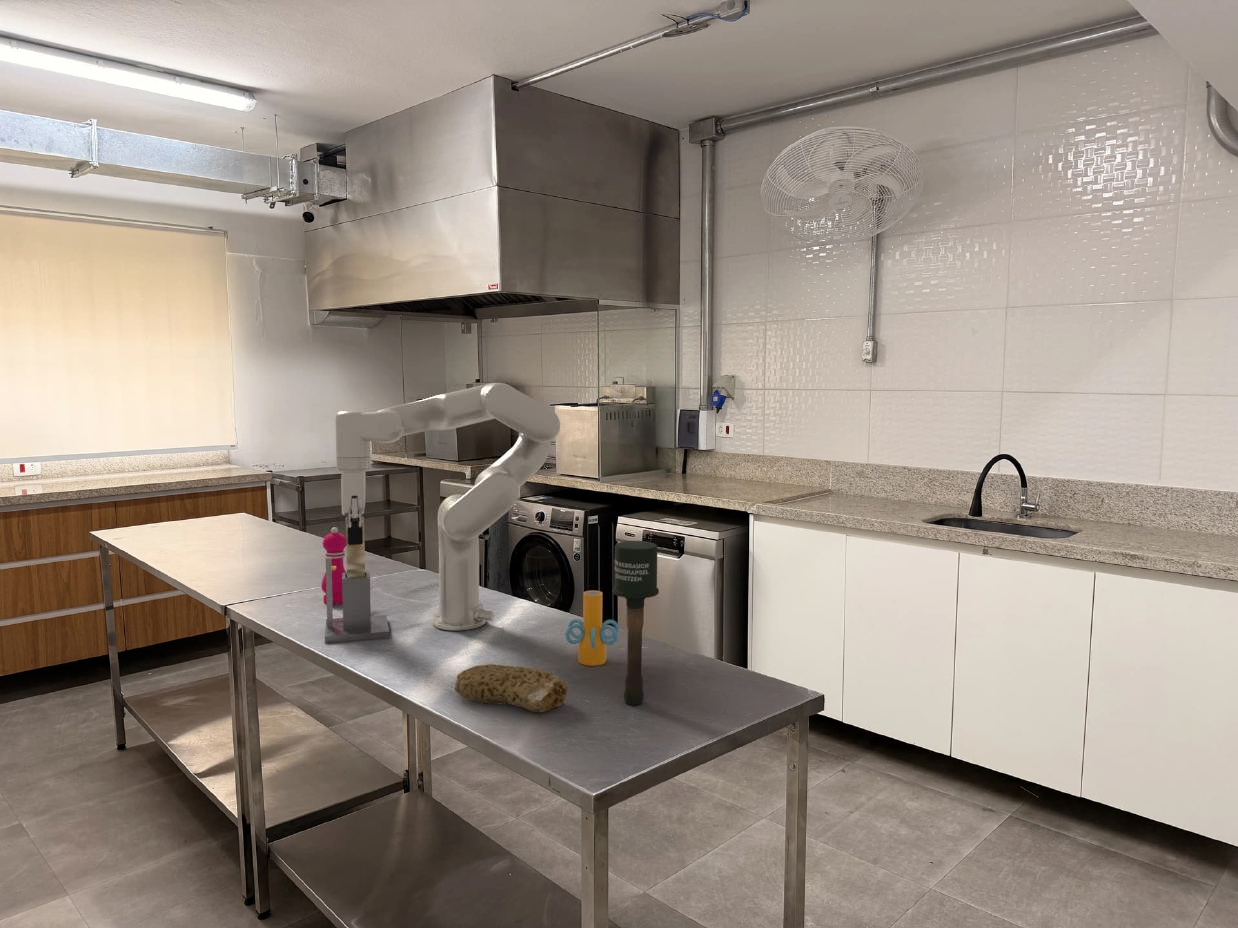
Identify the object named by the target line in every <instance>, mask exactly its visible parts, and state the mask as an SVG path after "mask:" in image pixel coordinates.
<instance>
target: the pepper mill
mask: <svg viewBox="0 0 1238 928" xmlns="http://www.w3.org/2000/svg"><path fill="white" fill-rule="evenodd" d="M330 532H331V533H329V534H326V536H324V538H323V541H322V547H323V548H324V550H325V552H324V554H325V555H324V557H325V558H326V557H331V566H336V570H332V605H340V604H342V605H343V592H342V573H347V570H346V568H345V567H344V566H345V565H344V557H345V556H346V554H345V553H346V551H345V549H346V535H344V534H342V533H340V532H339V529H338V527H335V526H334V527H332V528H331V529H330ZM320 588H321V590H322V592H323V593H324V595H323V603H324V604H326V605H327V595H326V571H325V573H324V575H323V578H322V580H321V587H320Z"/></svg>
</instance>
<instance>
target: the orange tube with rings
mask: <svg viewBox="0 0 1238 928" xmlns="http://www.w3.org/2000/svg"><path fill="white" fill-rule="evenodd" d="M582 602H583V604H582V605H583V607H582V608H583V613H582V614H583V619H582V620H581V619H579V618H573V619H572V620H570V621H569V623H568V627H567V628H566V632H565V638H566V641H567V643H570V644H571V645H577V644H578V646H577V648H578V649H577V650H578V652H577V653H578V657H577V658H578V663H579V664H581V665H583V666H590V667H595V666H601V665H604V664H605V663H606V662H607V645H608V646H612V645H615V643H616V642H617V641H618V639H619V638H618V632H619V624H618V622H617V621H615V620H614V619H607V620H605V621H603V592H602V591H600V590H586V591H583V601H582ZM610 624H612V625H610ZM613 626H614V627H613ZM574 629H578V630H579V631H580V634H576V633H575V632H574V631H573V630H574ZM607 629H608V630H610V631H611V632H612V634H610V635H607V634H606V633H605V630H607ZM570 637H572V638H574V639H575V640H573V639H571V638H570Z"/></svg>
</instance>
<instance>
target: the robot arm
mask: <svg viewBox="0 0 1238 928" xmlns="http://www.w3.org/2000/svg"><path fill="white" fill-rule="evenodd" d="M494 419H496V420H497V421H498V422H500V423H501V424H503V425H505V426H507V427H509V428H511V429H512V430H514V431H516V432H518V438H517V440H516V442H515V443H514V445H513V446H512V447H511V448H510V449H509V450H508V451H506V452H505V453H504V454H503V455H502V456H501V457H500V458H498V459H497V460H496V461H495V462H493V463H492V464H491V465H489V466H488V467H486V468H485V469H484V470H483V471H482V472H480V473H479V474H478V475H477V477H476V478H475V481H474V486H473V487H472V488H471V489H470V490H468V491H467V492H466V493H465V494H459V493H457V494H453V495H452V494H451V495H450V496H447V497H446V498H445V499H444V500H443V501H442V502H441V503H440V505H439V508H438V509H437V511H438V512H437V531H438V532H437V533H438V555H439V556H438V584H439V585H438V587H439V591H438V593H439V594H438V595H439V604H438V605H439V614H438V615H437V616H435V617H434V618H433V621H432V624H433V626H434V627H435V628H437V629H441V630H445V631H469V630H474V629H477V628H480V627H482V626H483V625H485V624H486V622H487V621H490V622H493V621H494V618H495V617H494V616H495V614H494V610H491V609H490V610H487V609H484V604H483V603H480V543H479V542H480V540H479V539H480V538H479V536H480V535H481V534H483V533H484V532H485V531H486V530H487V529H489V528H490V527H491V526H492V525H493V524H494V523H496V522H497V521H499V519H500V518H501V517H503V516H504V515H505V514H506V513H508V512H509V511H510V510H511V509H512V508H513V507H514V506H515V504H516V503H517V501H518V500H519V496H520V487H521V486H523V485H524V484H526V483H527V482H528V481H529V480H530V479H531V478H532V477H533V476H534V475H535V474H537V472H538V471H539V470H540V469H541V468H542V467H543V465H544V464H545V462H546V461H547V458H548V456H549V454H550V450H551V444H552V441H554V439H555V438H556V437H557V436H558V435H559V432H560V428H561V421H560V418H559V416H558V415H557V413H556V412H555V411H554V410H553V409H551V408H549V407H547V405H544V404H543V403H541V402H539V401H537V400H535V399H533V398H532V397H530V396H529V395H527V394H525V393H524V392H522V391H519V390H518V389H516V388H515V387H513V386H511V385H509V384H508V383H504V382H490V383H486V384H481V385H478V386H473V387H469V388H464V389H460V390H457V391H451V392H446V393H441V394H438V395H434V396H432V397H429V398H425V399H422V400H421V399H420V400H417V401H413V402H408V403H403V404H400V405H399V404H398V405H395V406H390V407H386V408H383V409H379V410H377V411H373V412H367V411H364V410H340V411H338V412H337V413H336V415H335V451H336V452H335V453H336V454H335V456H336V457H335V458H336V472H338V473H341V476H340V477H341V478H340V486H341V487H340V488H341V489H340V490H341V491H340V492H341V493H340V494H341V514H342V515H343V516H345V515H346V514H348V516H347V517H349V527H348V544H349V545H360V544H363V531H362V527H361V517H362V515H363V514H364V513H365V508H366V482H367V481H366V472H370V471H371V470H372V465H371V464H372V463H371V461H372V460H371V442H375V443H384V444H392V443H395V442H397V441H399V440H400V439H401V437H405V436H409V435H413V434H418V433H423V432H427V431H428V432H429V431H449V430H453V429H457V428H462V427H466V426H469V425H474V424H478V423H483V422H486V421H490V420H494Z"/></svg>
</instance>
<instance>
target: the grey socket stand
mask: <svg viewBox="0 0 1238 928" xmlns="http://www.w3.org/2000/svg"><path fill="white" fill-rule="evenodd" d="M332 570H336V566H331V557H325V572H326V593H325V594H326V595H327V604H326V619H325V629H324V630H325V631H324V644H329V643H342V642H356V641H367V640H380V639H390V628H389V621H388V615H387V614H378V615H371V611H372V610H371V609H372V608H371V607H372V606H371V573H370V571H365V577H358V578H347V572H346V573H342V592H343V603H342V617H338V618H333V611H334V610H333V604H332Z"/></svg>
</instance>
